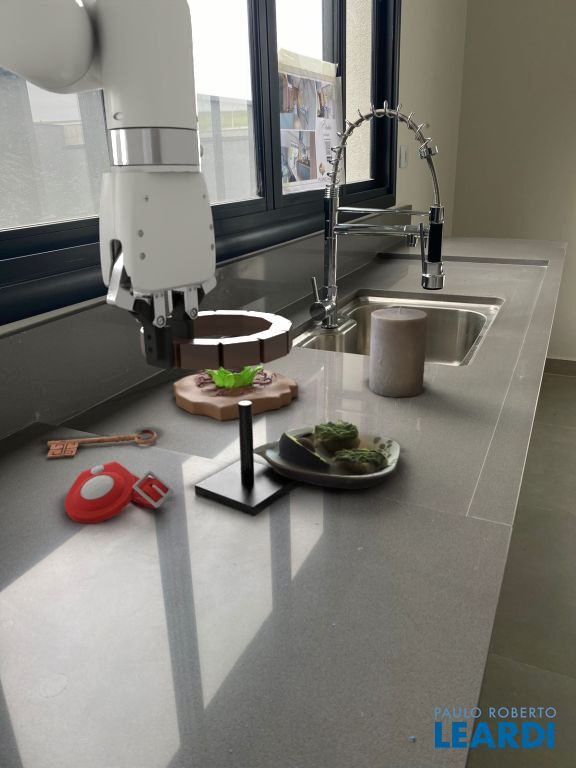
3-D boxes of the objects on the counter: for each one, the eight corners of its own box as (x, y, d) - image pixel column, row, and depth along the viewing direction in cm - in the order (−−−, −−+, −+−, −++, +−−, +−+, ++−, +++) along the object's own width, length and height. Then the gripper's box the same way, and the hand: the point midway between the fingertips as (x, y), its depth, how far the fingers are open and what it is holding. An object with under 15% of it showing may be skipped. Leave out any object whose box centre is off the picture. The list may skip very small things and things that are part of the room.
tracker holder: (59, 524, 64) (60, 465, 72) (74, 551, 66) (73, 491, 75) (170, 486, 66) (159, 433, 74) (181, 514, 68) (169, 459, 76)
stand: (195, 494, 72) (189, 406, 69) (243, 466, 79) (240, 385, 76) (253, 516, 67) (250, 423, 64) (299, 485, 74) (299, 399, 71)
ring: (112, 353, 61) (109, 330, 60) (215, 325, 72) (214, 305, 71) (223, 379, 52) (221, 353, 51) (319, 343, 63) (319, 320, 63)
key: (43, 460, 82) (155, 451, 84) (42, 455, 82) (155, 445, 84) (51, 440, 87) (157, 432, 89) (50, 434, 87) (156, 426, 89)
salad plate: (292, 425, 92) (293, 396, 91) (410, 443, 86) (413, 412, 85) (241, 472, 74) (242, 437, 73) (386, 498, 69) (389, 460, 67)
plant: (153, 397, 105) (147, 334, 101) (240, 373, 118) (238, 316, 114) (224, 429, 91) (221, 357, 88) (314, 397, 104) (314, 334, 100)
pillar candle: (433, 388, 108) (439, 305, 103) (403, 402, 102) (408, 314, 97) (388, 376, 115) (392, 298, 110) (357, 389, 108) (359, 306, 103)
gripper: (191, 158, 59) (202, 340, 65) (45, 154, 47) (75, 377, 53) (249, 156, 55) (255, 350, 61) (105, 150, 43) (130, 393, 49)
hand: (171, 361), depth 57 cm, fingers closed on ring, 2 cm apart
